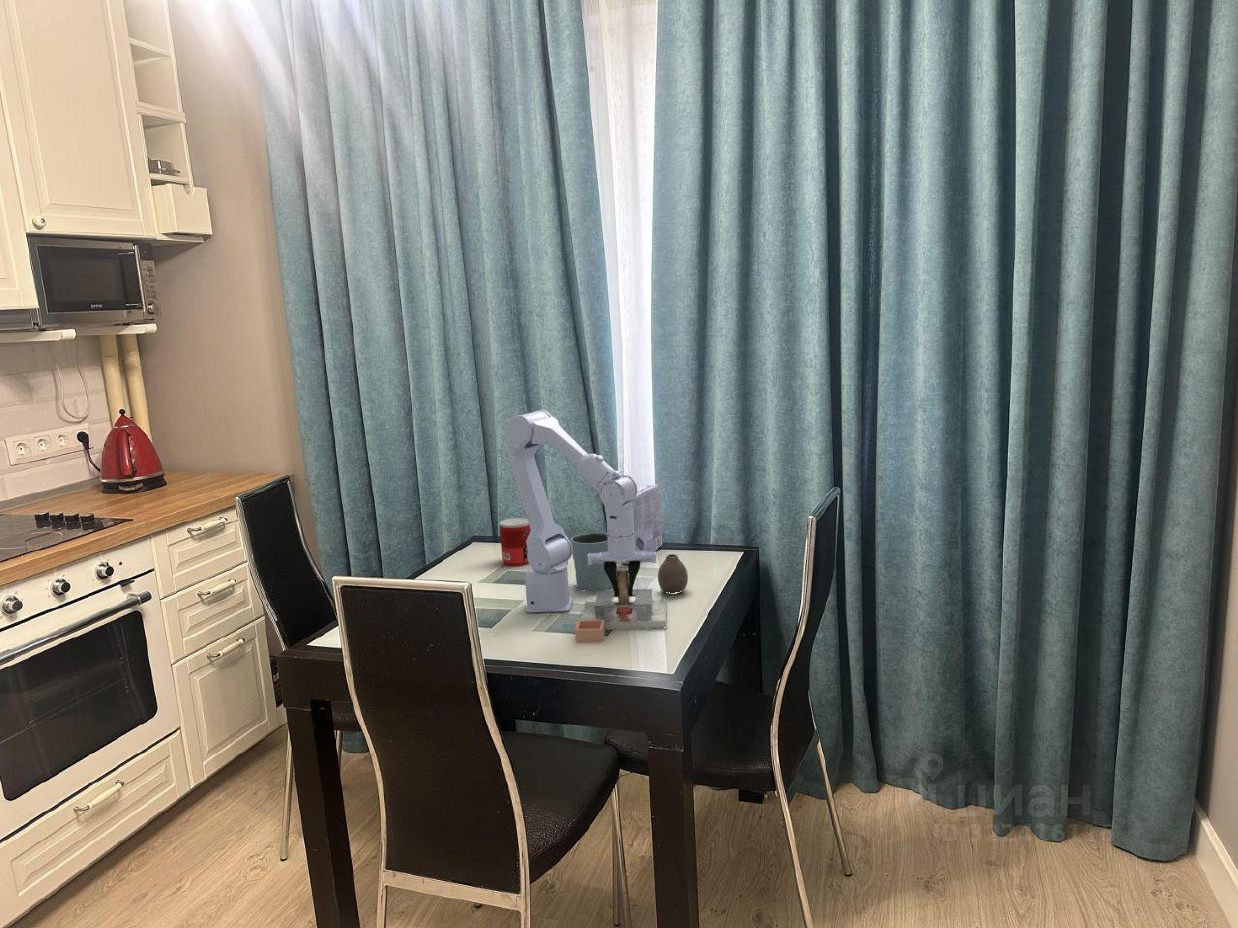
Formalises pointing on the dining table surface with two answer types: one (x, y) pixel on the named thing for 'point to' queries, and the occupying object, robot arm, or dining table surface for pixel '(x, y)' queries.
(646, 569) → the dining table surface
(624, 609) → the button
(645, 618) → the grey fixture board
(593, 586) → the green cylindrical pot
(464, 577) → the dining table surface
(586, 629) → the holder
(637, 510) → the cake pan box
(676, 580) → the vase
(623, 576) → the stylus
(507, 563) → the canned food
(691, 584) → the dining table surface
